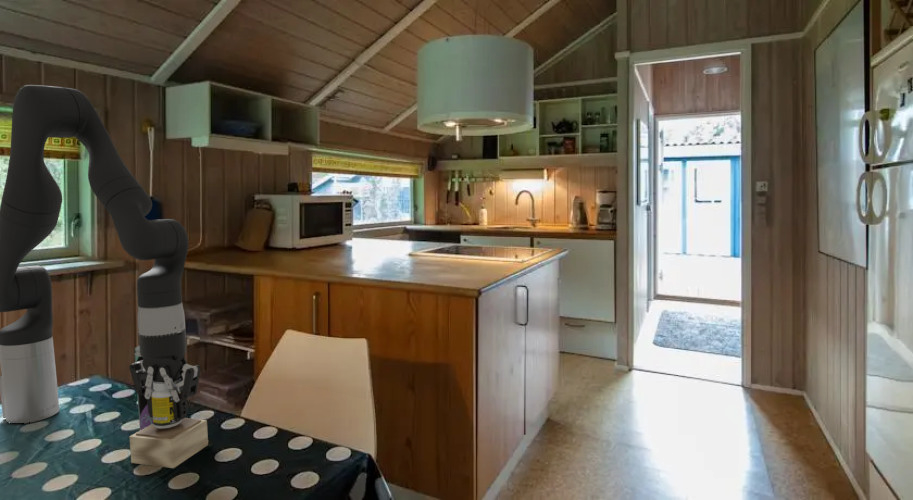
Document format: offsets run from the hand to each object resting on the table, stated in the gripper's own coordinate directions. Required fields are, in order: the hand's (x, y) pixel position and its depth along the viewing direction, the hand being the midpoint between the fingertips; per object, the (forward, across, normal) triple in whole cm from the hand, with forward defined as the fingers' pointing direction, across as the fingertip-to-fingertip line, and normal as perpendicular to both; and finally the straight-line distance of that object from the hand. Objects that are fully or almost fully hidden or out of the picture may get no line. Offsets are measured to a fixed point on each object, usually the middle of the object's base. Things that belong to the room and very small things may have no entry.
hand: (168, 417), depth 98 cm
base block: (+7, 0, 0) cm, 7 cm away
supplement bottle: (+1, 0, 0) cm, 1 cm away
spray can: (+7, -11, +8) cm, 15 cm away
